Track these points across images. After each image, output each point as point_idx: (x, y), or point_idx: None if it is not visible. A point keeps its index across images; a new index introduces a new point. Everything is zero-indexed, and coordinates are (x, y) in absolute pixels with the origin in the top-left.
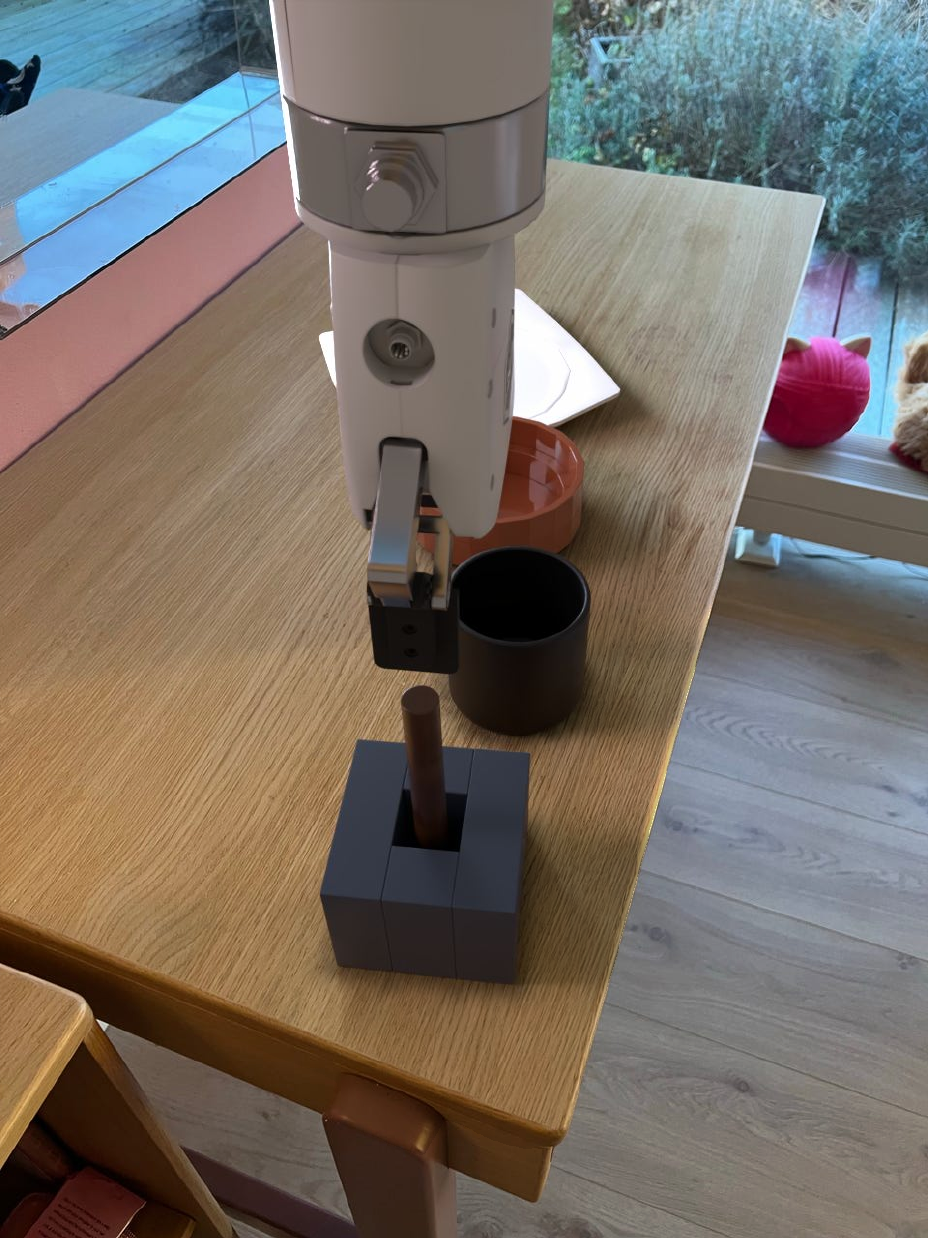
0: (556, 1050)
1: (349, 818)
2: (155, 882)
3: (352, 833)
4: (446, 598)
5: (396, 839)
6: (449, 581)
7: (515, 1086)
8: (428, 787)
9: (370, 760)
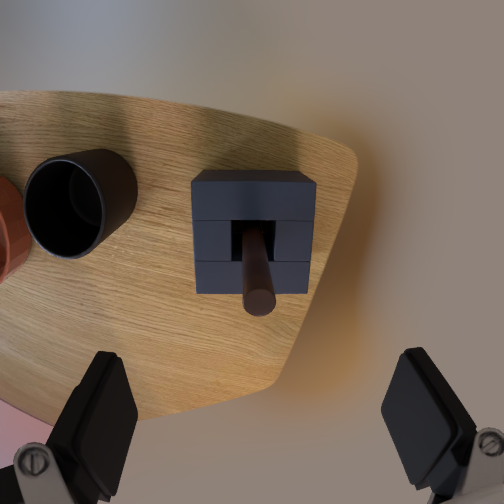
0: (330, 149)
1: None
2: (255, 345)
3: None
4: (492, 440)
5: None
6: (482, 453)
7: (347, 168)
8: (267, 257)
9: (212, 283)
